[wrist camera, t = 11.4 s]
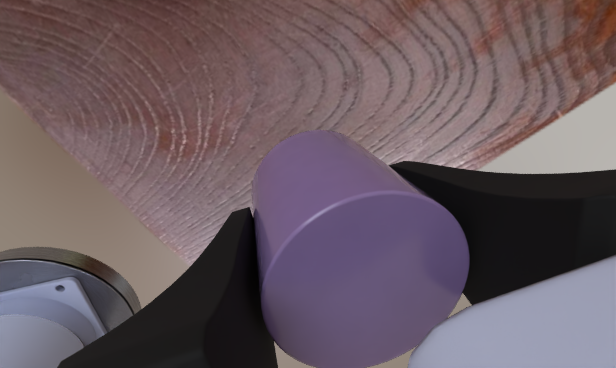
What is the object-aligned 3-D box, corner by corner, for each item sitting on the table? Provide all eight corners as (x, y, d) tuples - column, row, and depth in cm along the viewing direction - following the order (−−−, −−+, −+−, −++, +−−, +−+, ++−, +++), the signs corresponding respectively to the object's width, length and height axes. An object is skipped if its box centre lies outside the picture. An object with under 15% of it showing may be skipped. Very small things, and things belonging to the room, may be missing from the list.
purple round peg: (265, 258, 14) (282, 394, 8) (238, 143, 11) (236, 222, 6) (378, 231, 14) (464, 340, 9) (371, 118, 12) (479, 169, 7)
